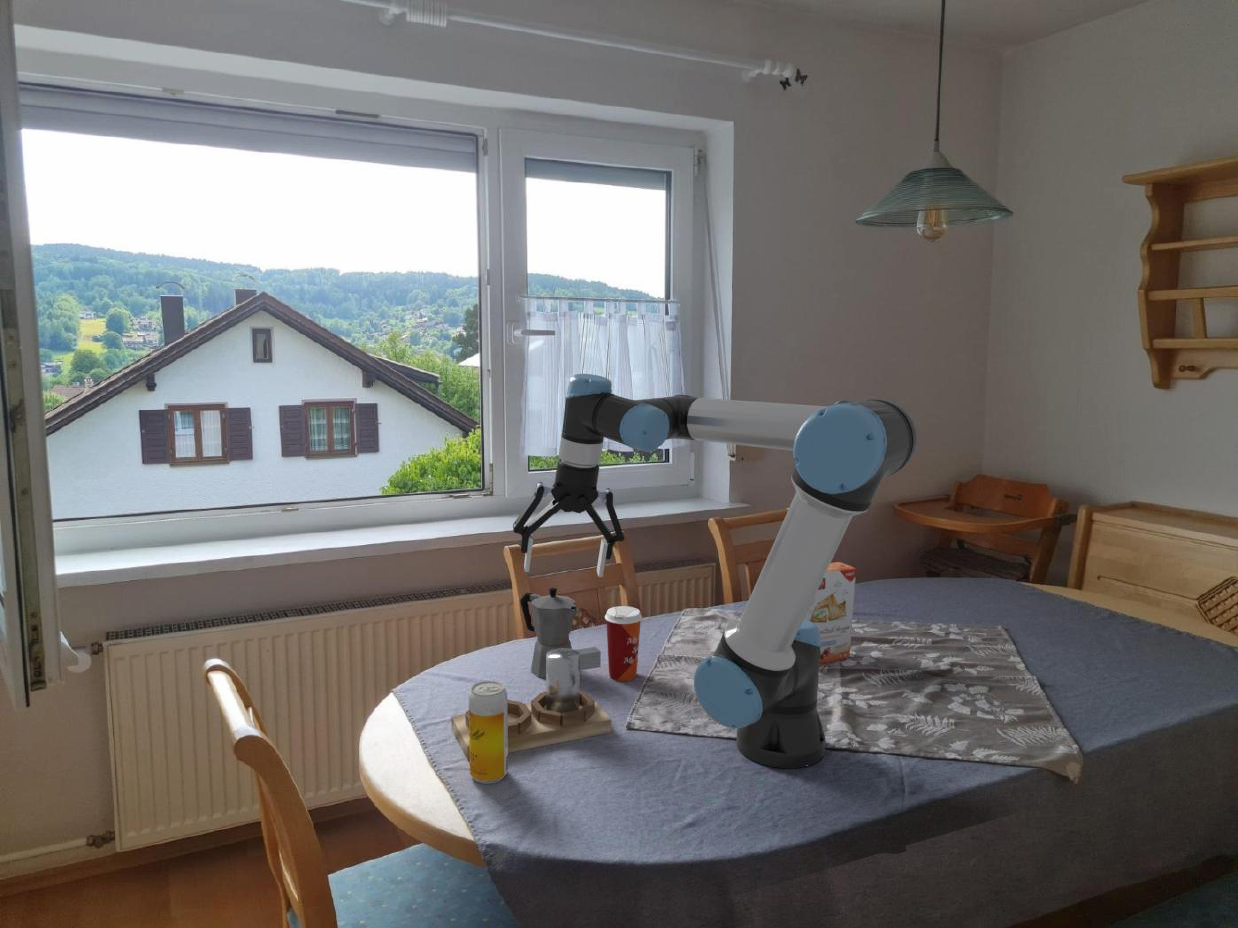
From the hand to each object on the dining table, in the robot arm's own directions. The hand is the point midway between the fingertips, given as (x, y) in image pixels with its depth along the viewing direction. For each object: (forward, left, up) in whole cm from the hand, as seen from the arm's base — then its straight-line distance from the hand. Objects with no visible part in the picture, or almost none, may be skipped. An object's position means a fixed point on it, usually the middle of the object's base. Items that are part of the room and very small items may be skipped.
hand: (563, 571), depth 158 cm
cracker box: (+2, -60, -27) cm, 66 cm away
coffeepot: (+19, -4, -27) cm, 33 cm away
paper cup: (+10, -17, -27) cm, 33 cm away
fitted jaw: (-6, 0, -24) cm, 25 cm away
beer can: (-18, +19, -27) cm, 38 cm away
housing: (-6, +8, -27) cm, 29 cm away
